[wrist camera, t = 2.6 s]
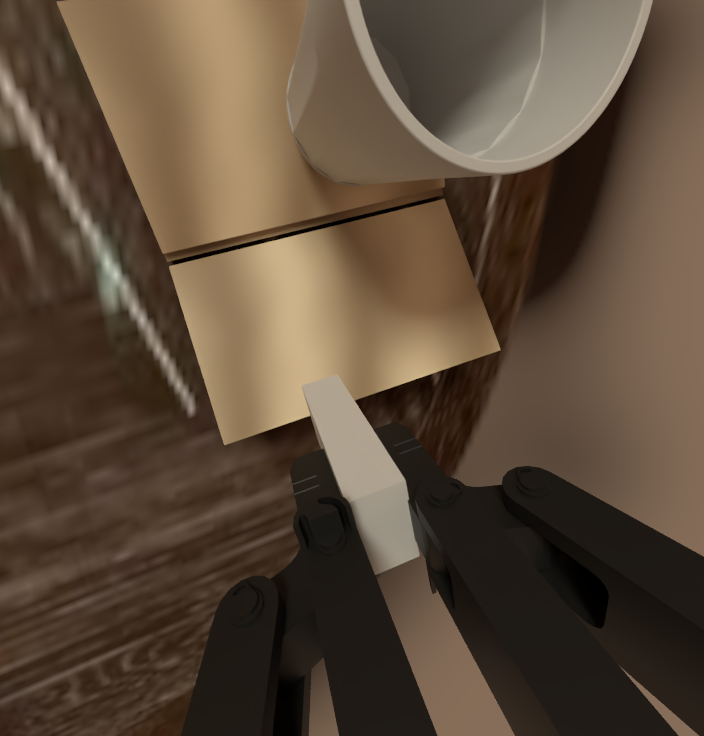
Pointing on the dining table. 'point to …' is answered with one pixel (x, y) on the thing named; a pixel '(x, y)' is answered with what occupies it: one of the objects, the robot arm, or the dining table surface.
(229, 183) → the tan flat board
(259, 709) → the robot arm
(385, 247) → the plank
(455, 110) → the cup
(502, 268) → the dining table surface
